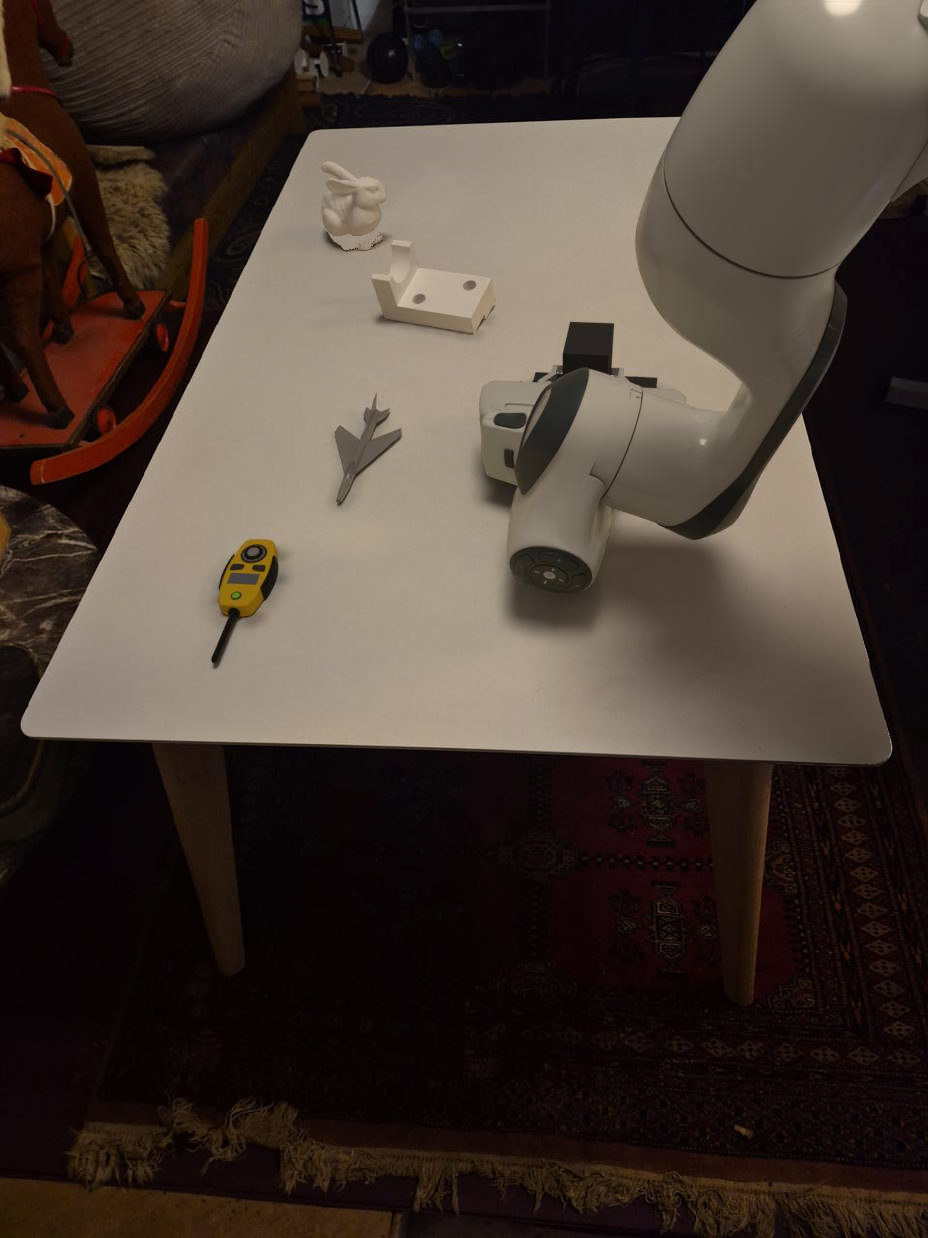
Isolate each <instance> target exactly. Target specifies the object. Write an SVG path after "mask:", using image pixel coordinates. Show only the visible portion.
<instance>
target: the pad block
mask: <svg viewBox="0 0 928 1238" xmlns="http://www.w3.org/2000/svg"><path fill="white" fill-rule="evenodd" d="M614 332H615V323H614V322H591V321H589V322H588V321H570V322H569V323H568V328H567V333H566V338H565V341H564V347H563V351H562V364H561V365H562V376H564V375H566V374H568V373H570V372H572V371H574V370H577V369H580V368H585V367H587V368H588V369H592V370H595V371H599V372H602V373H605V374H608V375H609V373H610V368H613V353H614V352H613V351H614V335H615V333H614Z"/></svg>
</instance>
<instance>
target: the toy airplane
mask: <svg viewBox="0 0 928 1238" xmlns="http://www.w3.org/2000/svg"><path fill="white" fill-rule="evenodd" d="M384 391H385V392H387V389H384ZM377 394H378V392H375V395H374V397H373V400H372V404H371V408H369V407H368V406H366V407H365V409H364V411H363V415H362V416H363V417H364V420H365V421H366V425H365V427H364V429H363V431H362V433H361V436H360V438H358V437H356V435H354V434H353V433H352V432H350V431H349V430H348V429H346V428H345V427H343V426H342V425H341V424H339V425H338V426H337V427H336V429H335V431H334V437H335V439H336V444H337V448H338V451H339V456H340V460H341V463H342V467H343V471H344V475H343V477H342V480H341V482H340V485H339V489H338V491H337V496H336V501H335V502H336V503H337V504H341V503H342V501H343V500H344V499H345V497H346V495H347V494H348V492H349V490H350V488H351V485H352V483H353V481H354V479H355V476H356V474H357V473H359V472H360V471H361V470H362V469H364V467H366V466H367V465H368V464H370V463H371V462H372V461H373V460H374V459H375V458H376V457H378V456H379V455H380V454H381V453H382V452H383V451H384V450H386V449H387V448H388V447H389V446H390V445H391V444H393V443H394V442H395V441H396V440H397V439H398V438H400V437H401V436H402V435H401V434H402V427H400V428H398V429H395V430H392V431H390V432H387V433H385V434H382V435H380V436H376V437H374V438H372V439H371V437H372V435H373V432H374V430H375V427H376V425H377V424H378V423H379V422H380V421H382V420H383V419H385V418H386V417H387V416H388V414H389V412H390V410H391V407H388V408H386V409H384V410H381V411H379V410H378V409H377V398H378V397H377V396H378V395H377ZM381 397H382V398H385V395H384V394H382V395H381ZM382 404H383V403H382V402H380V403H379V405H380V406H381V405H382Z"/></svg>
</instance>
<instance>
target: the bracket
mask: <svg viewBox="0 0 928 1238" xmlns="http://www.w3.org/2000/svg"><path fill="white" fill-rule="evenodd" d="M390 246H391V253H392V255H391V256H392V257H391V259H392V260H391V265H390V270H389V272H388V274H382V273H376V272H373V274H372V276H371V277H370V280H371V283H372V286H373V290H374V292H375V295H376V297H377V301H378V304H379V306H380V309H381V312H382V315H383V318H384V319H385V320H389V321H390V320H391V321H397V322H402V323H408V324H414V325H421V326H427V327H433V328H439V329H444V330H449V331H455V332H462V333H467V334H473V335H474V334H475V333H476V332H477V330H478V328H479V326H480V323H481V322H482V320H487V318H488V316H489V315H490V312H491V311H492V309H493V307H494V305H495V303H496V301H497V298H496V293H495V287H494V283H493V278H492V277H486V276H480V275H475V274H474V275H473V274H467V273H460V272H453V271H446V270H440V269H439V270H438V269H432V268H425V267H420V266H419V261H418V258H417V255H416V251H415V247H414V244H413V241H408V240H401V239H393V240H392V242H391V244H390Z"/></svg>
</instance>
